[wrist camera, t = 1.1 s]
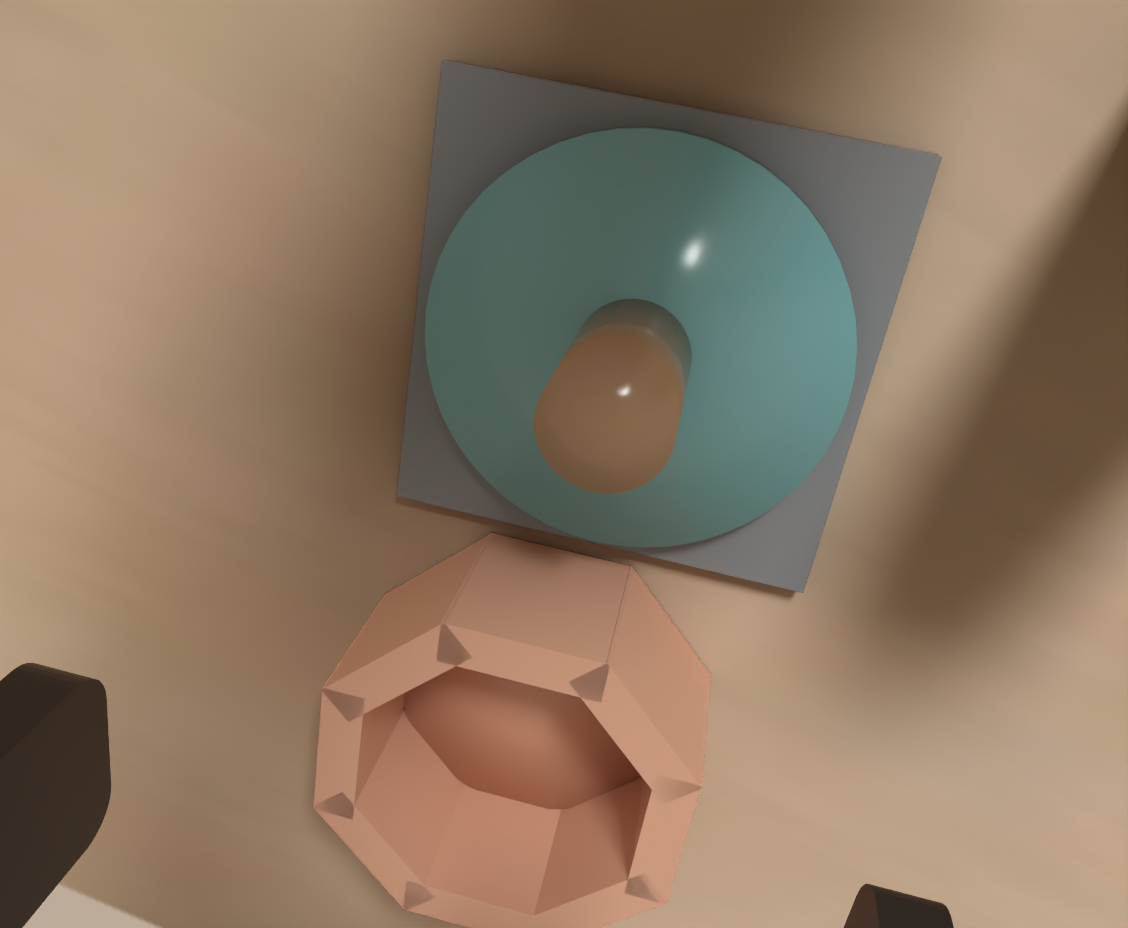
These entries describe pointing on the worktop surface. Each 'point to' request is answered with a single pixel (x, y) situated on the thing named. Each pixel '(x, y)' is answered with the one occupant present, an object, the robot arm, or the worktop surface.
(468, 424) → the lid
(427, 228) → the mat
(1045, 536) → the worktop surface
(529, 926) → the bowl
